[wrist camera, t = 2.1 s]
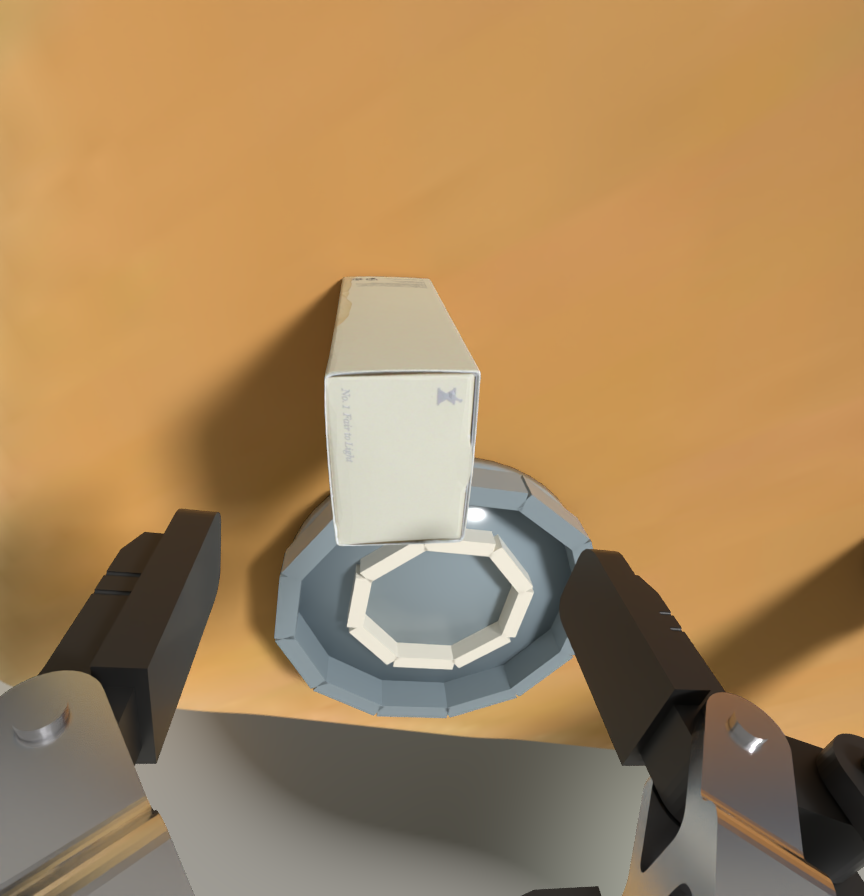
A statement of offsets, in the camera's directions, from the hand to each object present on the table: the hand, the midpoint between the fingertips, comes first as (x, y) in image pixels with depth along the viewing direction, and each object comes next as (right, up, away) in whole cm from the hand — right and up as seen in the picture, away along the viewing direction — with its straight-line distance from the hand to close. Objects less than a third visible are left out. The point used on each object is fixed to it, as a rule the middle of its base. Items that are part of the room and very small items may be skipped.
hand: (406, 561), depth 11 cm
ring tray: (+1, -7, +23) cm, 24 cm away
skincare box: (-2, +8, +14) cm, 16 cm away
